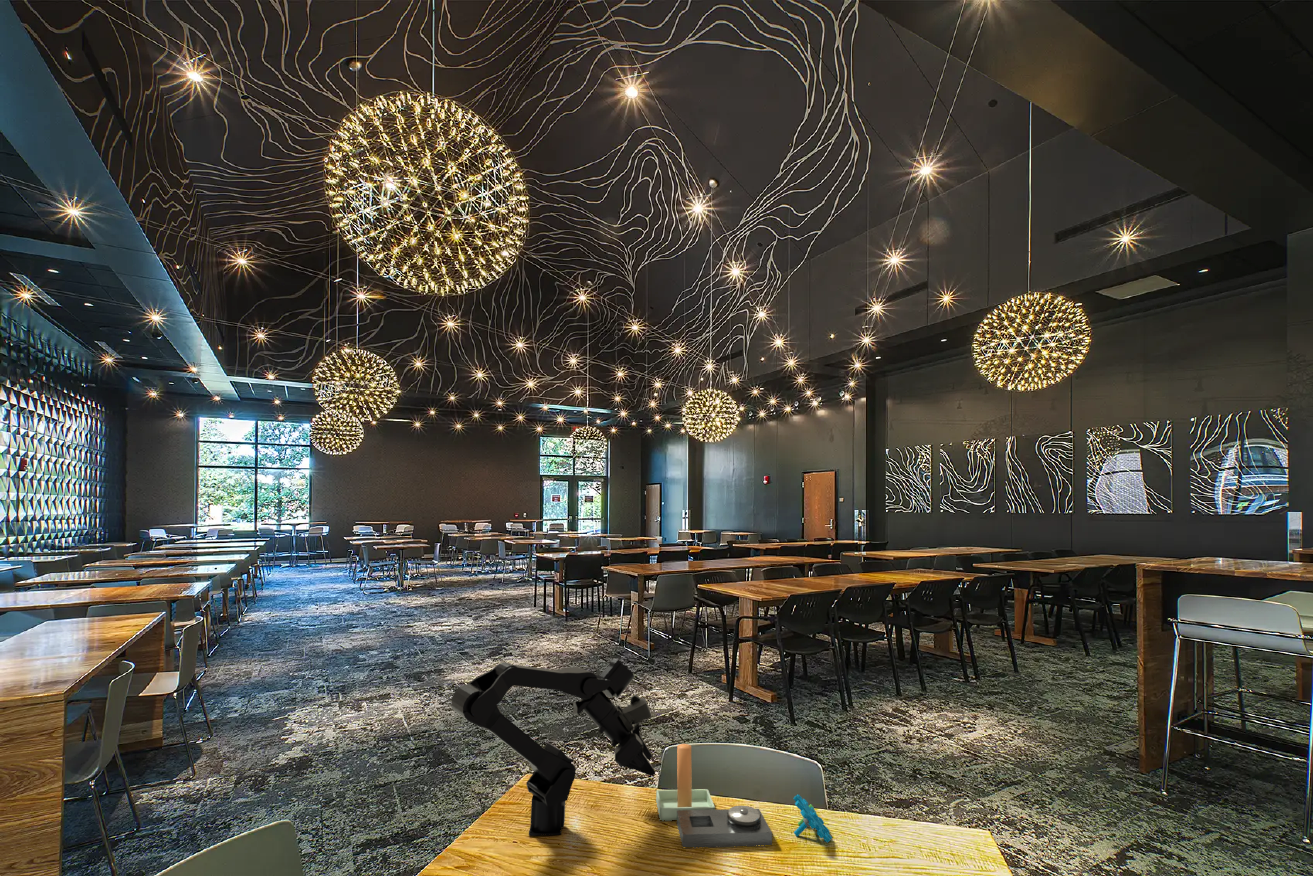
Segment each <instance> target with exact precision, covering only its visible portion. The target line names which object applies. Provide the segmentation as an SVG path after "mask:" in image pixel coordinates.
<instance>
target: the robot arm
mask: <svg viewBox="0 0 1313 876" xmlns="http://www.w3.org/2000/svg"><path fill="white" fill-rule="evenodd" d="M634 679H635V675H634V673H633V672H632V670H631V669H630V668H628V667H627V666H626V665H625V664H624V663H622V662H621V660H619V659H618V658H612V659H611V660H610V662H609V664H608V666H606V667H605V669H604V670H603V671H602V672H601V673H600V674H599V675H598V674H596V673H594V672H592V671H589V670H587V669H584V668H581V667H579V666H571V667H570V666H569V667H563V668H560V669H551V668H550V669H549V668H545V667H544V668H543V667H537V666H536V667H534V666H530V665H529V666H527V665H520V664H512V663H509V662H507V661H504V662H501V663H498V664H497V665H495V666H494V667H493V668H492V669H490V670H489V671H486V672H485V673H483V674H480V675H479V676H476V677H475V678H474V679H472V680H471V681H470V682H468V683H467V684H463V685H461V686H459V687H458V688H457V689H456V690H455V691H454V693H453V694H452V697H451V709H452V710H453V711H454V713H456V714H457V715H459V716H461V717H462V719H464V720H466V721H468V722H469V723H472V724H474V726H475V725H476V726H478V727H479V728H483V729H485V730H488V731H489V732H490V733H491V734H493V735H494V736H495V737H496V738H498V739H499V740H500V741H501V742H503V743H504V744H505V745H507V746H508V747H509V748H510V749H512V750H513V751H514V752H515V753H516V754H517V755H519V756H520V757H522V758H523V759H524V760H525V761H527V763H528V764H529V765H530V767H531V769H532V770H533V773H532V774H531V776H530V777H529V778H528V780H526V783H525V785H526V788H527V791H528V792H529V794H532V797H531V804H530V805H531V806H530V807H531V808H530V809H531V810H530V827H529V830H528V836H530V837H533V836H534V837H535V836H536V837H537V836H538V837H539V836H560V835H562V828H563V829H564V827H565V821H566V819H565V818H566V801H568V799H569V795H570V792H571V789H572V787H573V786H572V785H573V783H574V781H575V779H576V772H577V771H576V770H577V768H576V766H575V765H574V764H573V762H574V758H571V757H570V756H568V755H566V753H564V751H563V750H562V749H560V748H558V747H557V746H555V745H554V744H552V743H550V742H548V741H547V742H546V744H545V746H544V747H543V746H542V745H540V744H539V743H538V742H537V741H536V740H534V739H533V738H531V737H530V736H529V735H528V734H527V733H525V731H523V730H522V729H521V728H519V726H517V725H516V724H515V723H513V722H512V721H511V720H510V719H509V718H507V717H506V716H505V715H504V714H503V712H501V710H500V707H499V706H498V704H500V702H501V701H502V700H503V698H504V697H505V696H506V695H507V692H509V690H511V689H512V688H513V687H514V686H516V687H525V688H526V687H527V688H534V689H543V690H553V691H559V692H561V693H565V694H567V695H571V696H572V697H576V698H578V699H580V700H579V701H577V700H576V701H573V702H572V704H573V709H572V710H573V712H572V713H573V714H572V715H573V716H578V715H580V714H582V712H584V713H585V714H586V715H587V716H588V717H589V718H590V720H592V722H593V723H594V724H595V725H596V726H597V727H598V732H599V733H600V734H604V735H605V736H606V737H607V738H608V739H609V740H610V744H611V746H613V748H614V762H615V763H617V765H618V766H619V767H620V768H628V769H632V770H634V771H637V772H640V773H643V774H645V775H647V776H648V775H649V777H650V776H651V777H653V776H654V775H655V774H656V770H655V769H654V767H653V765H652V764H651V763H650V761H649V760H650V759H652V757H653V754H652V752H651V751H650V749H649V747H648V746H647V743H646V741H644V739H643V737H642V735H641V729H640V728H641V725H640V722H642V721H644V720H649V718H651V717H652V713H651V712H652V711H651V709H650V706H649V704H648V701H647V700H646V698H644V697H640V696H639V695H637V694H634V695H632V696H631V697H630V703H629V704H627V706H625V707H624V708H623V707H621V705H620V704H619V705H618V704H614V702H613V701H612V700H611V699H613V698H614V697H615V698H617V699H618V698H619V697H620V696H622V694H623V692H624V691H625V690H626V689H627V688H628V686H629V685H630V684H631V683H632V681H633V680H634ZM610 698H611V699H610Z"/></svg>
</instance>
